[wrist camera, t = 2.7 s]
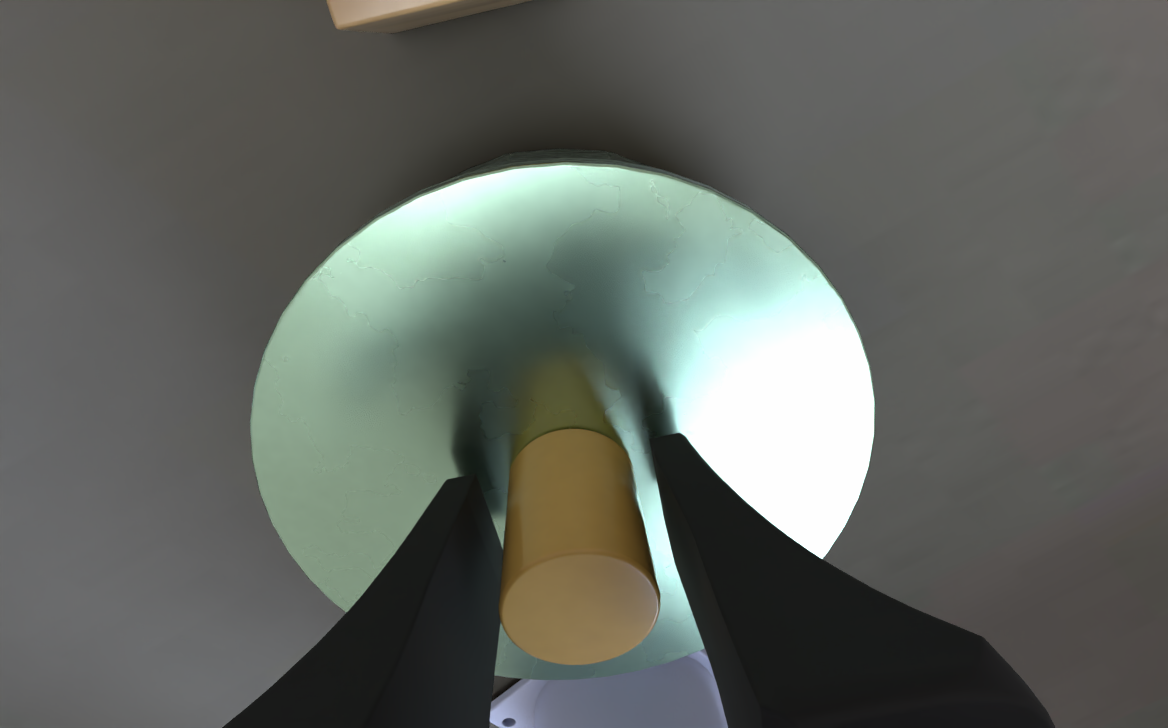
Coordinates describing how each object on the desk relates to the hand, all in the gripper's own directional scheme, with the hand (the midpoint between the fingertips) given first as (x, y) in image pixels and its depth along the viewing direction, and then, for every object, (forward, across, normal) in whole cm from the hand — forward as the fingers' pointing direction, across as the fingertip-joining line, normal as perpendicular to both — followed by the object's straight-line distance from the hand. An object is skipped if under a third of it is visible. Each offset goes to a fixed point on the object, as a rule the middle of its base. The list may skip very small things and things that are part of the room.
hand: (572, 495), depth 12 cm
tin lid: (+1, 0, 0) cm, 1 cm away
